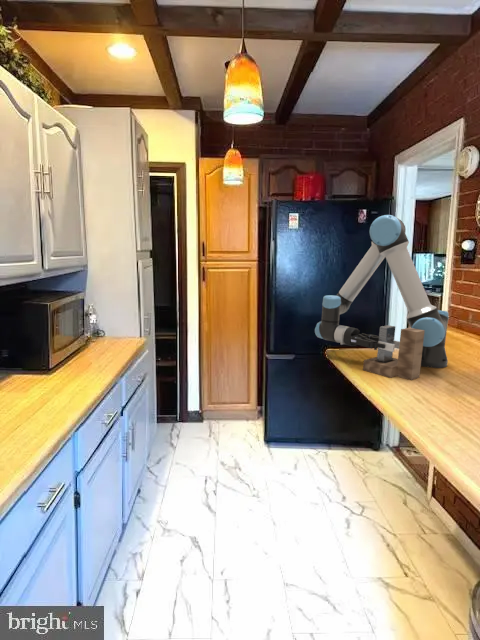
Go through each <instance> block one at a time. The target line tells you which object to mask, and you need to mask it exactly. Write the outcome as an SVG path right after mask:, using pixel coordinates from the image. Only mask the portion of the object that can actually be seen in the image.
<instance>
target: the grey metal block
mask: <svg viewBox="0 0 480 640" xmlns="http://www.w3.org/2000/svg"><path fill="white" fill-rule="evenodd" d="M395 333H396V326H395V325H389V324H387V325H384V326H383V325H382V326H380V327H379V333H378V336H379V341H381V342H385V343H390V344H394V340H395ZM393 353H394V352H392V351H387V350H383V349H379V348H378V347H377V353H376V354H377V355H376V357H377V361H378V362H382V363H388V362H392V358H393V355H394V354H393Z"/></svg>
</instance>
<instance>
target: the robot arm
mask: <svg viewBox="0 0 480 640" xmlns="http://www.w3.org/2000/svg"><path fill="white" fill-rule="evenodd" d="M406 230H407V229H406V225H405V223H404V221H402V220H401V219H400V218H398V217H396V216H395V215H391V214H384V215H381V216H378V217H377V218H375V219H374V220H373V221H372V223H371V224H370V227H369V236H370V237H369V238H370V239H371V246H370V248H369V249H368V250H367V252H366V253H365V254H364V256H363V258H361V260H360V261H359V263H358V265H356V267H355V268H354V270H353V271H352V273H351V274H350V275H349V277H348V278H347V280H346V281H345V283H344V284H343V285H342V287H341V288H340V290H339V291H338V293H336V295H330V294H329V295H324V296H323V298H322V303H321V305H322V307H321V308H322V309H321V320H320V321H319V322H317V323H316V325H315V328H314V333H315V336H316V337H317V338H319V339H323V340H325V341H330V342H335V343H338V344H339V343H340V345H341V346H342V345H346V346H349V347H355V346H357V345H358V346H362V347H365V348H368V349H373V350H374V351H378V348H379V349H383V350H387V351H392V352H393V353H394V352H395V349H398V350H399V344H400V340H399V341H398V340H395V339H394V344H390V343H385V342H381V341H379V335H375V334H371V333H369V334H366V333H363V332H362V333H361V332H360V330H359V328H355V327H350V326H347V325H341V324H340V315H343V314H345V313H347V312H348V310H350V307H351V304H352V303H353V302H354V300H355V299H356V297H358V295H359V294H360V293H361V290H362V289H363V288H364V287H365V286H366V284H367V283H368V281H369V280H370V279H371V277H372V276H373V275H374V273H375V271H376V270H377V269H378V267H379V266H380V265H381V263H382V262H383V261H384V259H385V260H386V262H387V263H388V267H389V269H390V271H391V274H392V276H393V278H394V281H395V284H396V285H397V287H398V291H399V293H400V295H401V297H402V300H403V302H404V305H405V307H406V309H407V316H406V320H407V322H408V324H409V328H414V329H419V330H425V332H424V341H423V349H422V358H421V367H425V368H434V369H441V368H442V369H443V368H446V367H447V366H448V361H449V360H448V356H447V353H446V352H447V351H446V347H445V346H446V339H447V331H448V323H449V318H450V317H449V312H448V311H447V310H440V309H438V308H437V306H436V305H432V304H431V302H430V299H429V297H428V295H427V292H426V289H425V287H424V285H423V283H422V281H421V278H420V276H419V273H418V271H417V269H416V266H415V263H414V261H413V259H412V256H411V255H410V251H409V249H408V245H409V243H410V241H409V240H408V236H407V234H406Z"/></svg>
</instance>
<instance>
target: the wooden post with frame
mask: <svg viewBox="0 0 480 640" xmlns="http://www.w3.org/2000/svg"><path fill="white" fill-rule="evenodd" d="M424 332H425V330H419V329H414V328H411V327H406V328H401V329H400V334H399V335H400V337H399V342H400V344H399V349H398V356H397V358H396V357H392V362H388V363H382V362H378V361H377V356H376V357H371V358H367V359H364V360H363V366H362V371H365V372H368V373H372V374H376V375H379V376H383V377H386V378H395V377H397V378H398V377H399V378H401V379H405V380H409V381H413V380H416V379H419V378H420V375H421V367H422V366H421V358H422V349H423V341H424Z"/></svg>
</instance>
